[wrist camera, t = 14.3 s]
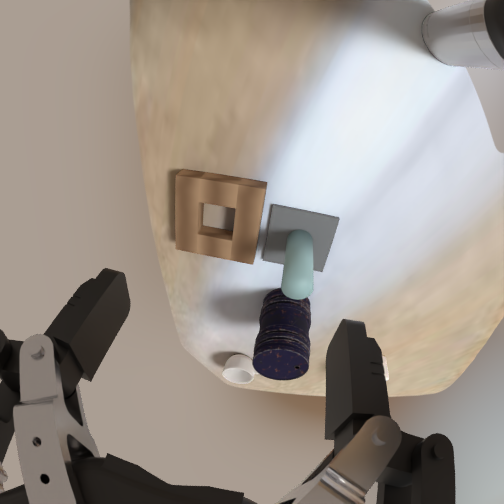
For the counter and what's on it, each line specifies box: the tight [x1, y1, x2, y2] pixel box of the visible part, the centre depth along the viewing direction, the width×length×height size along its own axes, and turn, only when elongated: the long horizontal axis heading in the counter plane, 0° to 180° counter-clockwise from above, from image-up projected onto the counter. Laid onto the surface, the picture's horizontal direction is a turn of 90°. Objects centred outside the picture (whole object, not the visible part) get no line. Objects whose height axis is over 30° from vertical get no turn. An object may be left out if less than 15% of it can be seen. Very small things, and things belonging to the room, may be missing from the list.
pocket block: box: [175, 169, 267, 265], centre depth 48 cm, size 14×14×3 cm
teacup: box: [222, 354, 259, 384], centre depth 70 cm, size 10×8×5 cm
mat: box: [263, 204, 339, 272], centre depth 49 cm, size 11×11×1 cm
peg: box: [281, 230, 313, 300], centre depth 44 cm, size 4×4×12 cm
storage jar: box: [252, 288, 311, 380], centre depth 53 cm, size 10×10×15 cm
